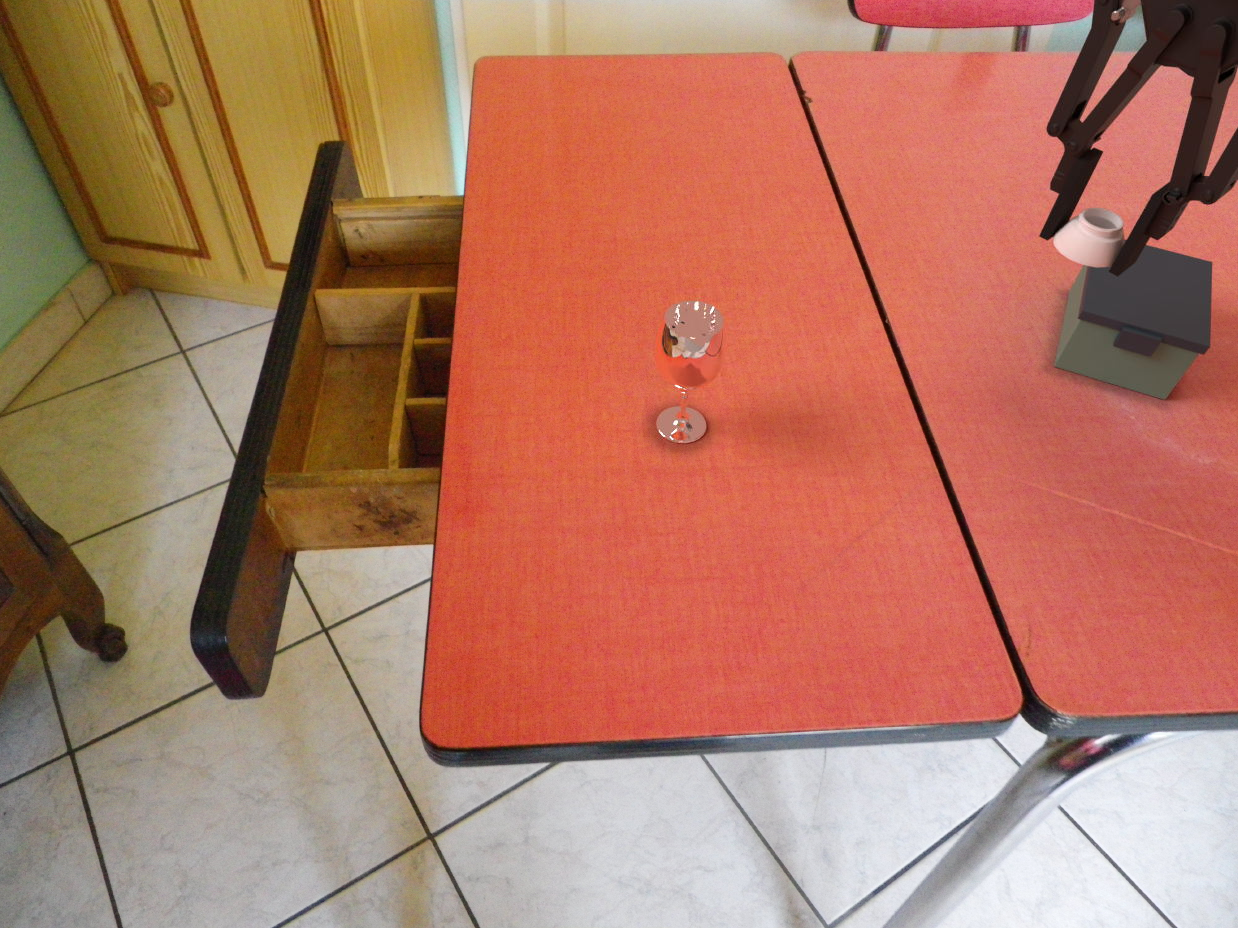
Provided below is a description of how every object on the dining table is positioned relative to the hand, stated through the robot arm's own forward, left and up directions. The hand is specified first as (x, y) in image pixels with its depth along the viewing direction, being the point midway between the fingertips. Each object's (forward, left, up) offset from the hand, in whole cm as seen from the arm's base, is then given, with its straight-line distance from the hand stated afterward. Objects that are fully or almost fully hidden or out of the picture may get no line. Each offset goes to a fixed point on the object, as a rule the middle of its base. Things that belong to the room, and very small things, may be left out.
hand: (1086, 248), depth 65 cm
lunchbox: (-2, -16, -17) cm, 23 cm away
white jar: (0, 0, 0) cm, 0 cm away
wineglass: (+17, +25, -17) cm, 35 cm away
